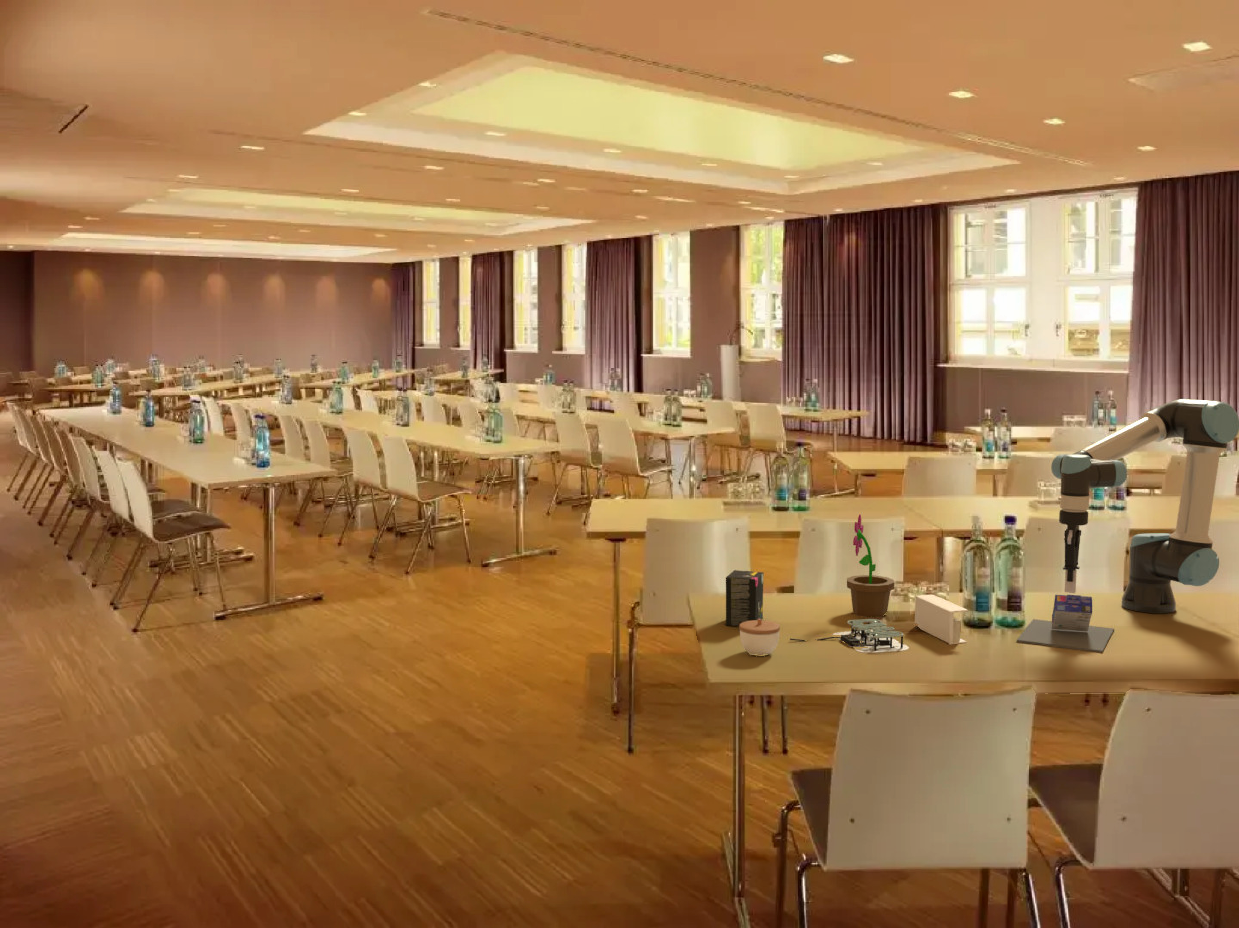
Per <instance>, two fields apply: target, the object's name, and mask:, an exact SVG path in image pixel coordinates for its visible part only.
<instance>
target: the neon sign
mask: <svg viewBox="0 0 1239 928" xmlns="http://www.w3.org/2000/svg"><path fill="white" fill-rule="evenodd" d="M846 622H847V624H848V625H850V627H851V628H850V631H839V632H834V633H833V634H832V636H830V637H829V636H828V637H823V638H819V639H818V638H817V641H824V640H829V639H837V638H839V639H838V640H839V641H840V642H842V641H844V642H845V643H846V644H848V645H847V647H850V648H851V647H868V648H861V650H860V649H859V650H858V649H855V650H854V651H856V652H859V653H863V654H865V653H866V654H878V653H891V652H903V651H907V650H909V649H910V647H909V646H908V645H907V644H904V635H905V633H903V631H897V630H895V628H894V627H893V626H887V623H883V621H882V620H880V619H876V618H864V619H850V620H848V621H846ZM864 623H867V624H864ZM833 635H841V637H834V636H833ZM853 635H854V636H853ZM895 638H900V641H898V640H897V639H895ZM789 640H790V641H795V642H796V641H797V642H798V641H799V642H806V641H805V640H806V639H801V638H800V639H798V638H789ZM860 641H861V643H860ZM862 641H863V642H862ZM845 643H844V644H845ZM846 644H845V645H846Z"/></svg>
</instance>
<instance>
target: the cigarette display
mask: <svg viewBox="0 0 1239 928" xmlns="http://www.w3.org/2000/svg"><path fill="white" fill-rule="evenodd" d="M914 603H915V604H914V624H915V623H917V624H918V627H919V628H920V629H919V628H918V629H919V630H921V631H923V632H925V633H927V634H929V635H931V636H933V637H935V638H938V639H939V640H941V641H943V642H945V643H948V645H958V644H967V640H964V639H962V638H961V623H962V622H961V620H960V619H958V618H954V617H955V615H954V613H964V612H969V610H968V609H967V608H965V607H962V606H960V605H957V604H956V603H953V602H951V601H948V600H946V599H944V598H942V597H940V596H936V595H934V594H923V595H922V594H921V595H915V599H914Z"/></svg>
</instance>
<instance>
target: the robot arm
mask: <svg viewBox="0 0 1239 928" xmlns="http://www.w3.org/2000/svg"><path fill="white" fill-rule="evenodd" d="M1238 434H1239V414H1238V412H1237V411H1236V410H1235V408H1234V407H1233V406H1232V405H1230V404H1229V403H1226V402H1222V401H1218V400H1205V399H1204V400H1203V399H1190V398H1180V399H1175V400H1173V401H1168V402H1166V403H1163V404H1161V405H1159V406H1156V407H1154V408H1152V409H1150V410H1149V411H1147V412H1145V413H1142V415H1141V416H1140V418H1139V419H1138V420H1137V421H1134V422H1133V423H1131V424H1129V425H1127V426H1124V427H1123V428H1121V429H1119V430H1117V431H1115V432H1113V433H1110V434H1109V435H1107V436H1105V437H1104V438H1102V439H1100V440H1098V441H1096V442H1094V443H1092V444H1089V445H1088V446H1085V447H1084V448H1082V449H1080V450H1078V451H1076V452H1074V453H1072V454H1067V453H1066V454H1065V453H1063V454H1058V455H1056V456H1054V458H1053V460H1052V461H1051V464H1050V465H1051V466H1050V468H1051V469H1050V470H1051V473H1052V475H1053V476H1054V477H1055V478H1056V479H1059V480H1060V496H1058V498H1057V500H1058V501H1060V502H1059V508H1060V509H1059V516H1058V518H1059V519H1058V520H1059V524H1062V525H1066V526H1067V527H1066V530H1064V533H1063V534H1064V538H1063V540H1064V566H1063V567H1062V570H1063V571H1065V573H1064V574H1065V578H1064V593H1069V594H1075V593H1076V591H1077V590H1076V589H1077V570H1080V566H1079V553H1080V544H1081V536H1082V530H1081V529H1080V526H1087V525H1088V522H1089V512H1088V510H1089V508H1090V491H1091V490H1090V489H1093V488H1094V489H1095V488H1115V487H1119V486H1122V485H1123V484H1124V483H1125V482H1126V480H1127V476H1128V470H1127V467H1126V465H1125V464H1124V463H1123V462H1122V461H1120V459H1122V458H1123V457H1124V458H1125V456H1127V455H1129V454H1131V453H1133V452H1135V451H1137V450H1139V449H1142V448H1143V447H1145V446H1147V445H1149V444H1151V443H1154V442H1155V443H1160V442H1162V441H1164V440H1167V439H1171V438H1172V439H1173V438H1180V439H1181V438H1182V443H1181V444H1182V446H1183V447H1184V449H1185V450H1186V457H1185V464H1184V471H1183V477H1182V478H1183V479H1182V484H1181V489H1180V491H1181V492H1180V497H1179V505H1178V510H1177V511H1178V513H1177V520H1176V525H1175V526H1176V527H1175V530H1174V531H1173V532H1172V533H1163V532H1161V533H1160V532H1159V533H1156V532H1155V533H1154V532H1153V533H1150V532H1148V533H1138V534H1135V535H1133V536H1132V537H1131V541H1130V546H1129V570H1128V571H1129V572H1128V573H1129V576H1128V583H1127V585H1126V588H1125V590H1124V592H1123V594H1122V597H1121V607H1122V608H1124V609H1127V610H1129V611H1135V612H1140V613H1146V614H1169V613H1174V612H1175V611H1176V607H1177V602H1176V599H1175V596H1174V592H1173V588H1172V585H1171V584H1172V583H1171V581H1172V582H1175V583H1176V582H1177V583H1180V584H1183V585H1184V586H1193V587H1203V586H1205V585H1207V584H1209V582H1211V581H1212V580H1213V579H1214V578H1215V576H1216V575H1217V572H1218V570H1219V565H1220V557H1219V556H1218V553H1217V552H1216V551H1215V550H1213V542H1214V541H1213V540H1212V539H1211V537H1210V536H1209V530H1210V523H1211V515H1212V511H1213V503H1214V497H1215V489H1216V482H1217V476H1218V470H1219V469H1218V468H1219V461H1220V455H1221V454H1222V453H1223V452H1225V451H1226V450H1227V449H1228V448H1227V447H1228V444H1229V443H1231V442H1232V441H1234V440H1235V439H1236V438H1235V437H1237V436H1238Z"/></svg>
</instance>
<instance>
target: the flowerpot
mask: <svg viewBox="0 0 1239 928" xmlns="http://www.w3.org/2000/svg"><path fill="white" fill-rule="evenodd" d="M854 533H856V535H854V537H853V542H852V543H853V544H852V545H853V546H855V551H854V552H855V556H857V557H858V556H859V552H860V548H861V549H862V548H863V543H864V545H865V548H866V550H867V554H865V555H864V556H863V557H862V558H861V559H860V560H859V562H858V563H859V564H860V565H862V566H865V567H866V566H869V567H868V575H867V574H866V575H865V574H860V575H853V576H850V577H847V578H846V587H847V588H848V589H849V590H850V594H851V595H850V597H851V605H852V614H853V615H855V616H857V617H862V618H869V619H876V618H883V617H884V616H883V615H884V614H885V613H886V612H887V613H888V609H889V601H890V595H891V591H893V590H895V580H894V579H893V578H890V577H888V576H881V575H873V572H875V571H876V567H877V566H876V563H873V557H872V552H871V547H870V544H869V543H868V541H867V538H866V537H865V535H864V534H863V533H864V525H863V524H862V515H861V514H859V515H858V517H857V521H855V522H854ZM882 616H883V617H882Z"/></svg>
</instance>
